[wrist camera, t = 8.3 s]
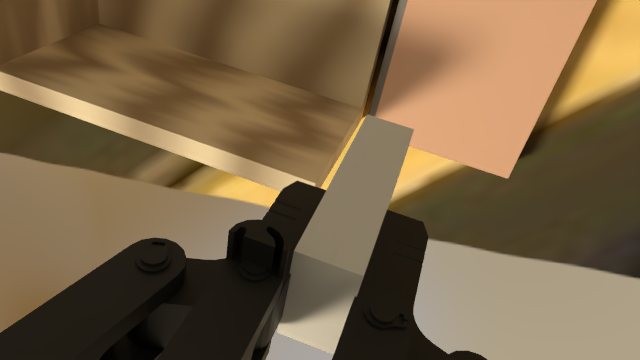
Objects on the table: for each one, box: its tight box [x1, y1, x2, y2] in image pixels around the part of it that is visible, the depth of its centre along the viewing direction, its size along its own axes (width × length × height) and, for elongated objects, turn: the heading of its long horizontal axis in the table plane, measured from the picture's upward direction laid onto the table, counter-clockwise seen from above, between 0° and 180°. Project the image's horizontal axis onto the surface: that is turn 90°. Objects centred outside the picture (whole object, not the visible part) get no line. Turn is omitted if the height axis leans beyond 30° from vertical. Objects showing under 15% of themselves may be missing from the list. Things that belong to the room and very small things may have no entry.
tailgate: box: [368, 0, 597, 179], centre depth 27 cm, size 1×14×9 cm
